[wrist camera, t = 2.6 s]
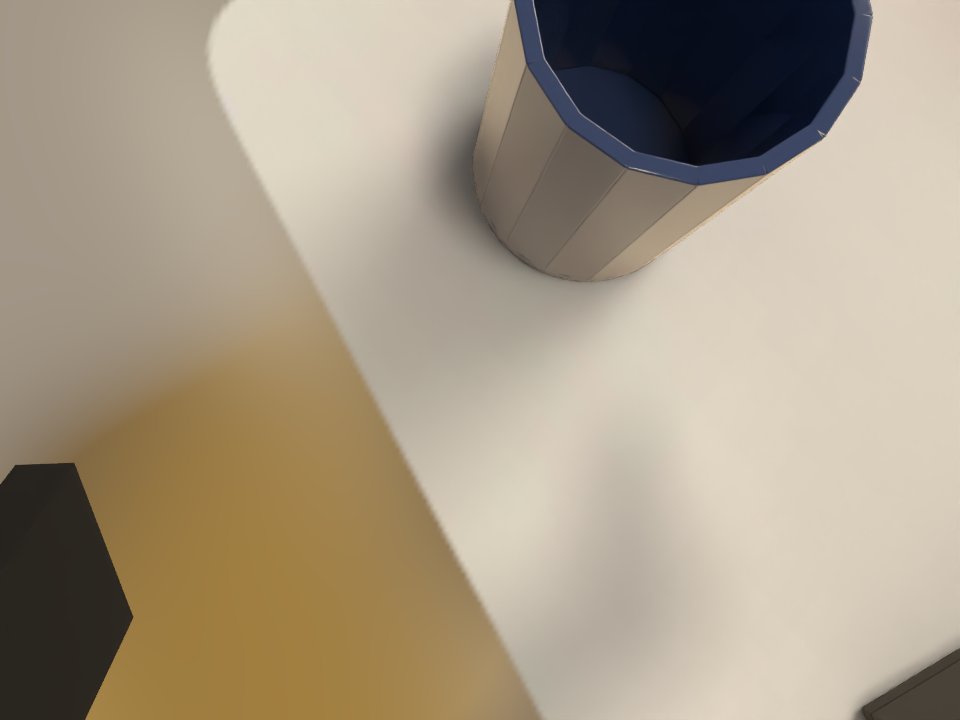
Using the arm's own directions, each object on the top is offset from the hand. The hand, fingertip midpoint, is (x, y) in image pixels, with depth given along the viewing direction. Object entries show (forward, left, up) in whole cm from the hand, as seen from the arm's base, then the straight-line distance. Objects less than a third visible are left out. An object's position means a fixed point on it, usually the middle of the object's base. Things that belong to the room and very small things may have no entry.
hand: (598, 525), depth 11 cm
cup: (+1, +10, -16) cm, 19 cm away
